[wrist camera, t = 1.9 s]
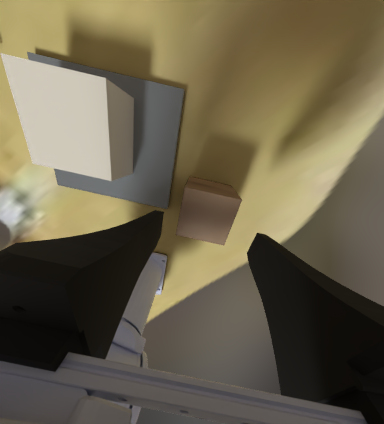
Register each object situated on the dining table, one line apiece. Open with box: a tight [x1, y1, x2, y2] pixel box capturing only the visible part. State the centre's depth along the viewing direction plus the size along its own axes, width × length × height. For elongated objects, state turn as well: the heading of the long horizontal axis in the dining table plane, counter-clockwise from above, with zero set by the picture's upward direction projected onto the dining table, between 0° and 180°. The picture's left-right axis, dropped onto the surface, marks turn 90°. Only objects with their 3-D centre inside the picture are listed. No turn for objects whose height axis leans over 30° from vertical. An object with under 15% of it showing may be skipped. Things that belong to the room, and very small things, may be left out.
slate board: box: [27, 52, 185, 209], centre depth 15 cm, size 12×14×1 cm
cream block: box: [0, 53, 134, 181], centre depth 12 cm, size 7×7×4 cm
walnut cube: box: [176, 177, 242, 245], centre depth 15 cm, size 5×5×5 cm
